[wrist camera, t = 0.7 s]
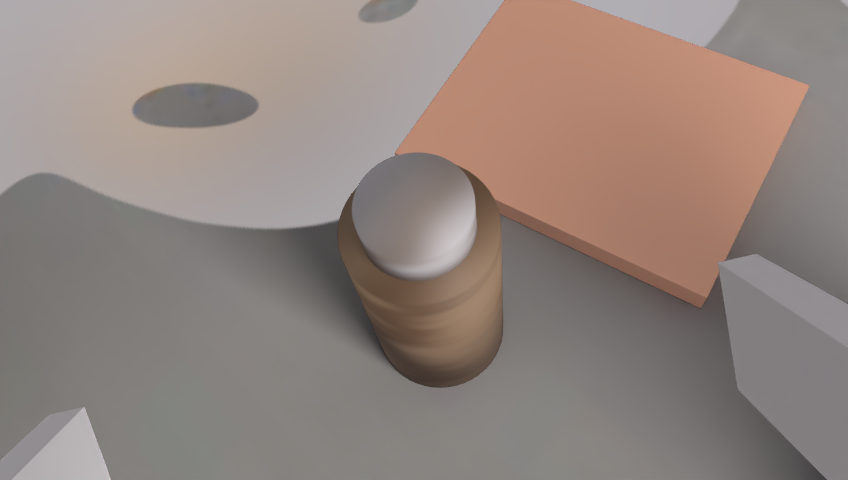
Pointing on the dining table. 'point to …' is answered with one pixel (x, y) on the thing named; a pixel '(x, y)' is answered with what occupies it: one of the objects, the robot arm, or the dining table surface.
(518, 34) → the plate
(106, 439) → the dining table surface
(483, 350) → the pepper mill
